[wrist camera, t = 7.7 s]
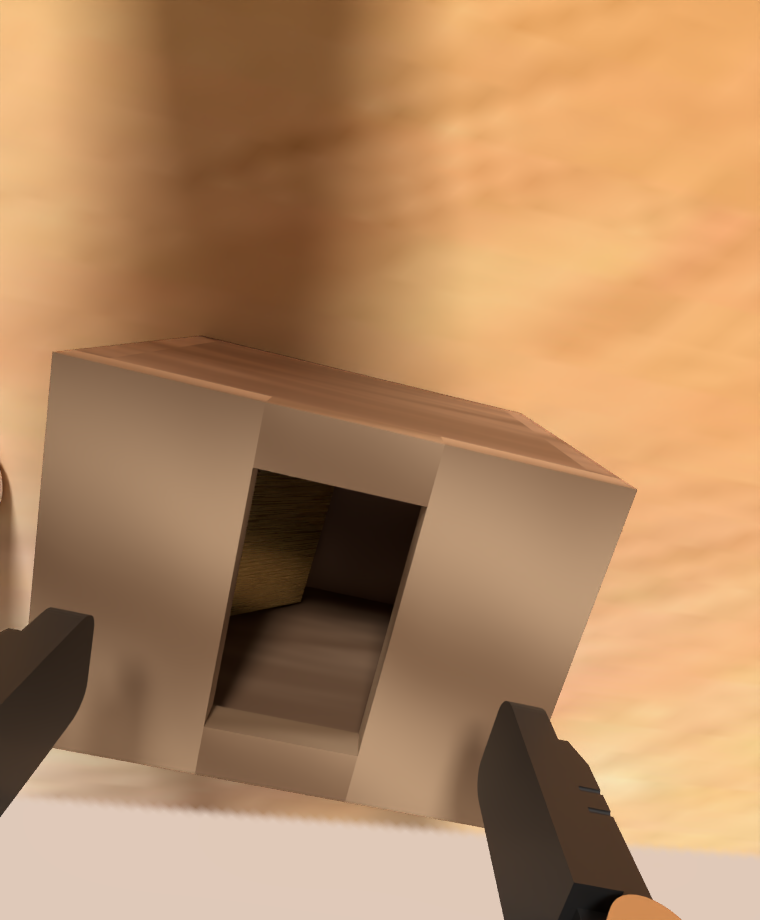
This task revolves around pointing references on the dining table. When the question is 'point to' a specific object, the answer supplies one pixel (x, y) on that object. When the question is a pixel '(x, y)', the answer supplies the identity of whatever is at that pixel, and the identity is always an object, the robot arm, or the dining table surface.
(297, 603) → the walnut tissue box
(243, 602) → the yellow wooden block
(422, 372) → the dining table surface
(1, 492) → the supplement bottle
